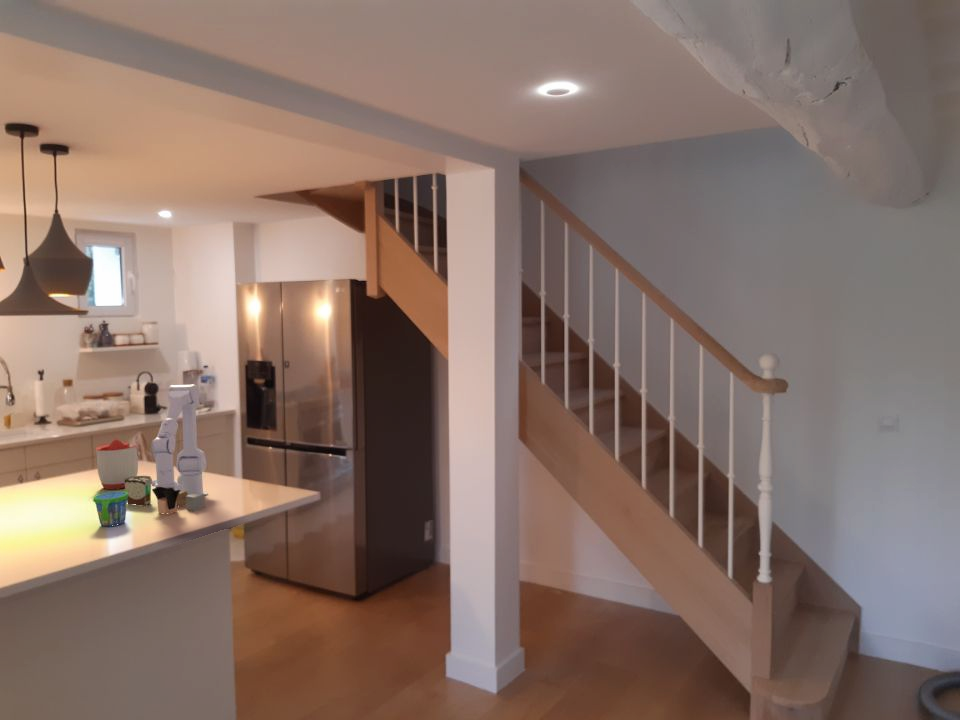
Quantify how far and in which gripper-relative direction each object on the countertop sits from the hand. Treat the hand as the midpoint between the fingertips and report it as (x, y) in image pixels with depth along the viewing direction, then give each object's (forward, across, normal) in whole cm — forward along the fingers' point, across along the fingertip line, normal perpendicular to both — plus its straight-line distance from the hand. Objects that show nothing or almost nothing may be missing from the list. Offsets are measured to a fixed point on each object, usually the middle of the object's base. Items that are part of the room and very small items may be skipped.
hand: (167, 507), depth 263 cm
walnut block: (+2, -5, +8) cm, 10 cm away
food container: (+2, -20, +3) cm, 20 cm away
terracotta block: (+2, 0, 0) cm, 2 cm away
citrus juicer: (+2, -55, +15) cm, 57 cm away
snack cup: (+2, -4, -18) cm, 19 cm away
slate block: (+2, +5, +8) cm, 10 cm away
